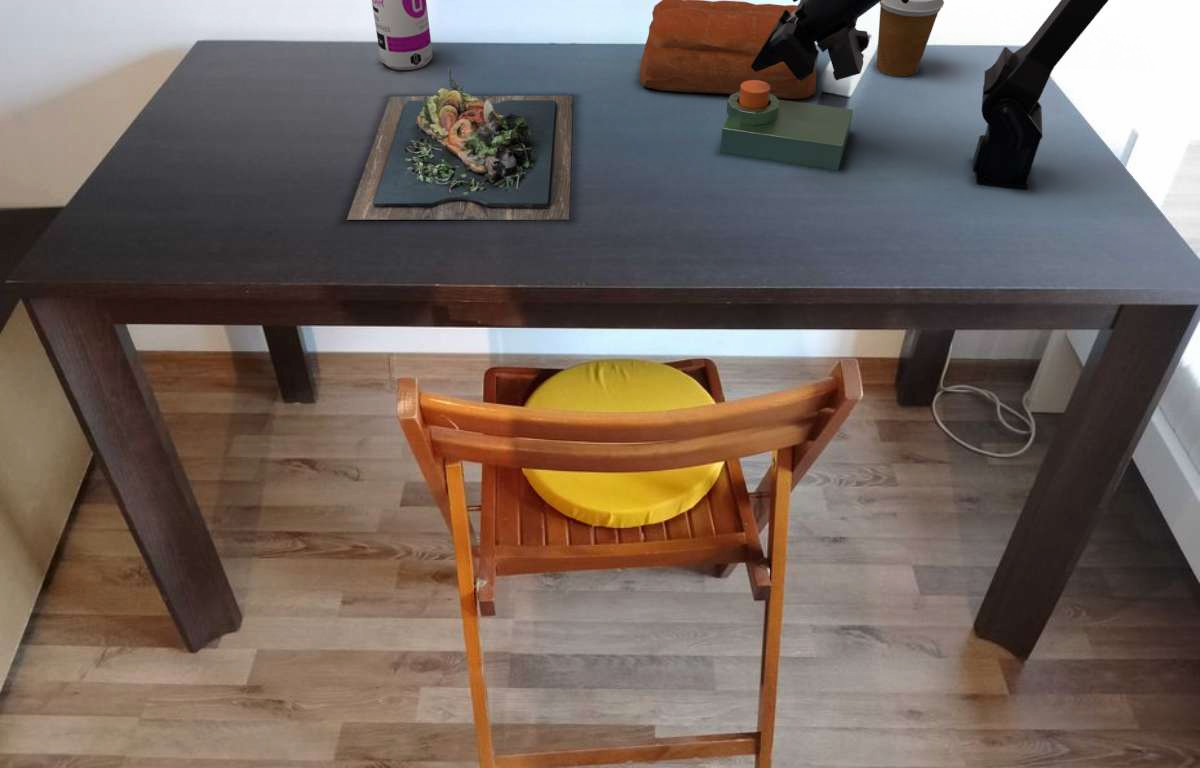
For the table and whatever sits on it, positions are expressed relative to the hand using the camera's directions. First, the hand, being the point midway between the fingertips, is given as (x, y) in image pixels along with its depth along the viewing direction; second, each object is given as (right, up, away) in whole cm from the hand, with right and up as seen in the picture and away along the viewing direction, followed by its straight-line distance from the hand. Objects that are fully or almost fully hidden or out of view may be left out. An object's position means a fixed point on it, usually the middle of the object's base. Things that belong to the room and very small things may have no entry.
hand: (753, 68), depth 130 cm
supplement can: (-51, +9, +26) cm, 58 cm away
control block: (+5, -9, +5) cm, 11 cm away
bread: (-1, +5, +21) cm, 22 cm away
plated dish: (-38, -11, +4) cm, 40 cm away
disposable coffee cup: (+26, +8, +24) cm, 36 cm away
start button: (0, -4, +3) cm, 5 cm away
